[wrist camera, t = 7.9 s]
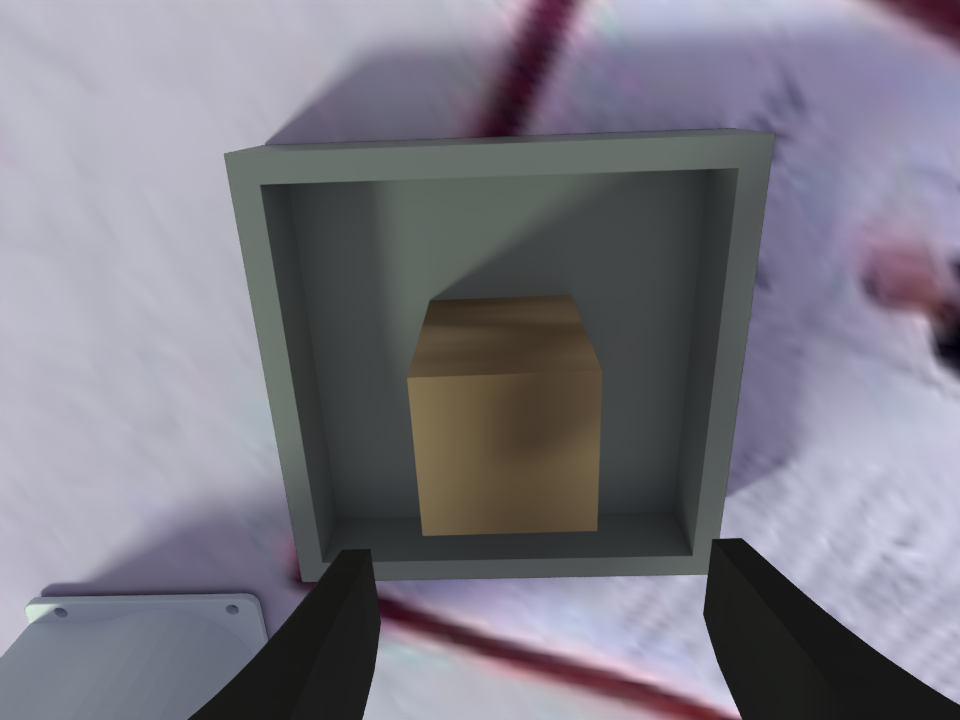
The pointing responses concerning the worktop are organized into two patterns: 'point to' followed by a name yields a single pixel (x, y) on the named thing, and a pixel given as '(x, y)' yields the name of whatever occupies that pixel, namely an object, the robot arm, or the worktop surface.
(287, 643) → the robot arm
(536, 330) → the walnut block
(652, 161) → the tray
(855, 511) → the worktop surface
